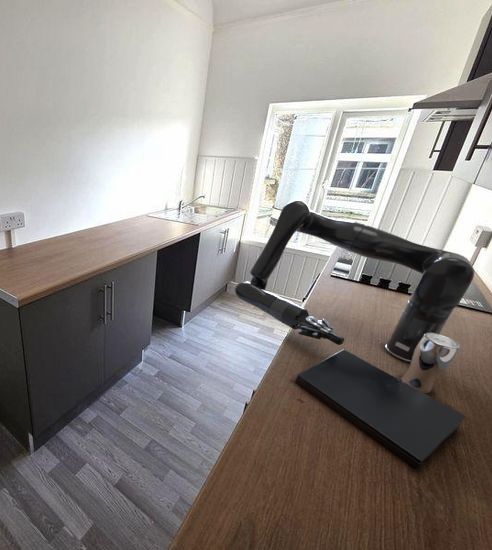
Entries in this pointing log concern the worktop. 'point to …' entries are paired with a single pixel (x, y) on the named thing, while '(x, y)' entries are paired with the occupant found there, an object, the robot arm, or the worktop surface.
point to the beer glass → (430, 361)
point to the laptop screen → (384, 403)
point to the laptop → (366, 429)
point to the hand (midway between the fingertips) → (342, 342)
